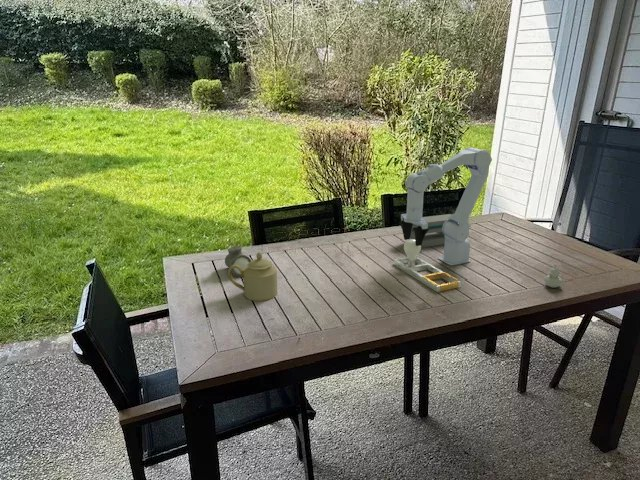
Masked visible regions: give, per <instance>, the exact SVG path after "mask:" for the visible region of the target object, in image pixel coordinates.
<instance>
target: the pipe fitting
mask: <svg viewBox="0 0 640 480" xmlns="http://www.w3.org/2000/svg"><path fill="white" fill-rule="evenodd" d="M242 250H243V247H242V246H241V245H235V246H231V247H229V248H228V249H227V252H228V254H227V255H226V256H225V258H224V263H225V265H226V267H227V268H228V269H229V268H230V267H231V266H232V265H235V264H236V265H239V266H241V268H242V269H243V271H244V270H245V269H246V268H248V267H247V264H248V263H249V262H251V261H252V260H251V258H250V257H249V256H247V255H246V254H243V253H242ZM231 274H233V275H234V276H236V277H238V278H239V277H240V278H242V276H241V273H240V271H239V269H237V268H233V269H232V270H231Z"/></svg>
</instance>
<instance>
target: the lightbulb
mask: <svg viewBox="0 0 640 480" xmlns="http://www.w3.org/2000/svg"><path fill="white" fill-rule="evenodd" d="M403 250H404V252H405V254H406V257H407V258H408V263H407V266H408V267H411V266H416V263H415V259H416V257H418V255H419V254H420V253H421V250H422V246H421V245H420V246H416V244H415V239H408V240H406V241H405V242H404V245H403Z"/></svg>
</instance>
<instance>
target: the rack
mask: <svg viewBox="0 0 640 480" xmlns="http://www.w3.org/2000/svg"><path fill="white" fill-rule="evenodd" d="M406 264H408V258H407V256H405V257H401V258H395V259H393V265H394V266H395V267H397V268H398V269H400V270H401V271H403V272H405V273H406V274H408V275H410V276H411V277H413V278H414V279H416V280H417V281H419V282H420V283H422V284H424V285H425V286H427V287H428V288H430V289H432V290H433V291H434V292H435V293H439V292H443V291H444V292H445V291H449V290H452V289H459V288H461V287H462V281H460V279H458V278H456V277H454V276H453V275H452V274H450V273H447V272H446V271H443V270H441V269H439V268H438V267H436V266H434V265H432V264H431V263H429V262H427V261H425V260H424V259H421V258H420V257H418V256H417V257H416V259H415V266H411V267H410V266H408V265H406ZM416 264H417V265H416ZM422 271H429V272H431V273H429V274H424V275H422V274H421V273H419V272H422ZM439 279H443V280H444V281H446V282H447V283H442V284H441V283H440V284H438V283H436V282H435V281H434V280H439Z"/></svg>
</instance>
